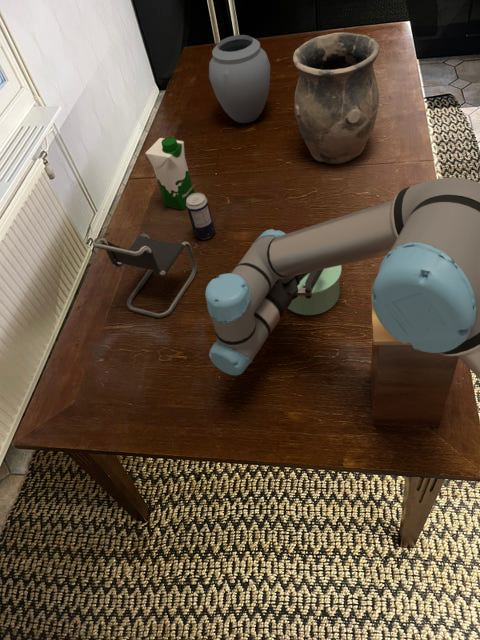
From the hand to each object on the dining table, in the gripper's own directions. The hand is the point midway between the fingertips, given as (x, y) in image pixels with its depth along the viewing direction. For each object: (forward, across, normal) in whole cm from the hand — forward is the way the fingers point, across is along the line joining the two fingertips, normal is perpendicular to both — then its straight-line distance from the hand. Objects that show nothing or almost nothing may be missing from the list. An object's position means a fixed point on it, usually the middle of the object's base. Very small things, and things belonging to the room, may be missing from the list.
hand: (318, 233), depth 116 cm
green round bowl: (-5, 0, -14) cm, 15 cm away
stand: (-23, +29, -14) cm, 39 cm away
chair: (-19, -34, -14) cm, 42 cm away
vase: (+57, -56, -14) cm, 81 cm away
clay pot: (+49, -19, -14) cm, 54 cm away
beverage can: (+2, -36, -14) cm, 38 cm away
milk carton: (+12, -51, -14) cm, 54 cm away
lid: (-5, 0, -6) cm, 8 cm away
